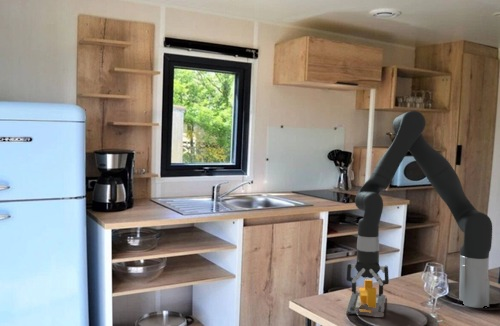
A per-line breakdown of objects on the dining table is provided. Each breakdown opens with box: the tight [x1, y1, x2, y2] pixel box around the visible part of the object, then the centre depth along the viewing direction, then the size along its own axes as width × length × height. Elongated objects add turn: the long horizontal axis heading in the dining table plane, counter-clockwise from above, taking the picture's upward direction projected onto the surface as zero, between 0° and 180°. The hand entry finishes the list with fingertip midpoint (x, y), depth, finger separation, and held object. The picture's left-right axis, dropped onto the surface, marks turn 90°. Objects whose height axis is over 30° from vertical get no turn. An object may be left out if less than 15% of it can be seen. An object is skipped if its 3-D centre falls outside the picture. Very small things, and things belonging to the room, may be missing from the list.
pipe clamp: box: [358, 278, 377, 308], centre depth 165 cm, size 12×4×6 cm, turn 172°
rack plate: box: [346, 290, 386, 314], centre depth 164 cm, size 12×22×2 cm, turn 163°
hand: (367, 294), depth 164 cm, fingers open, 8 cm apart
